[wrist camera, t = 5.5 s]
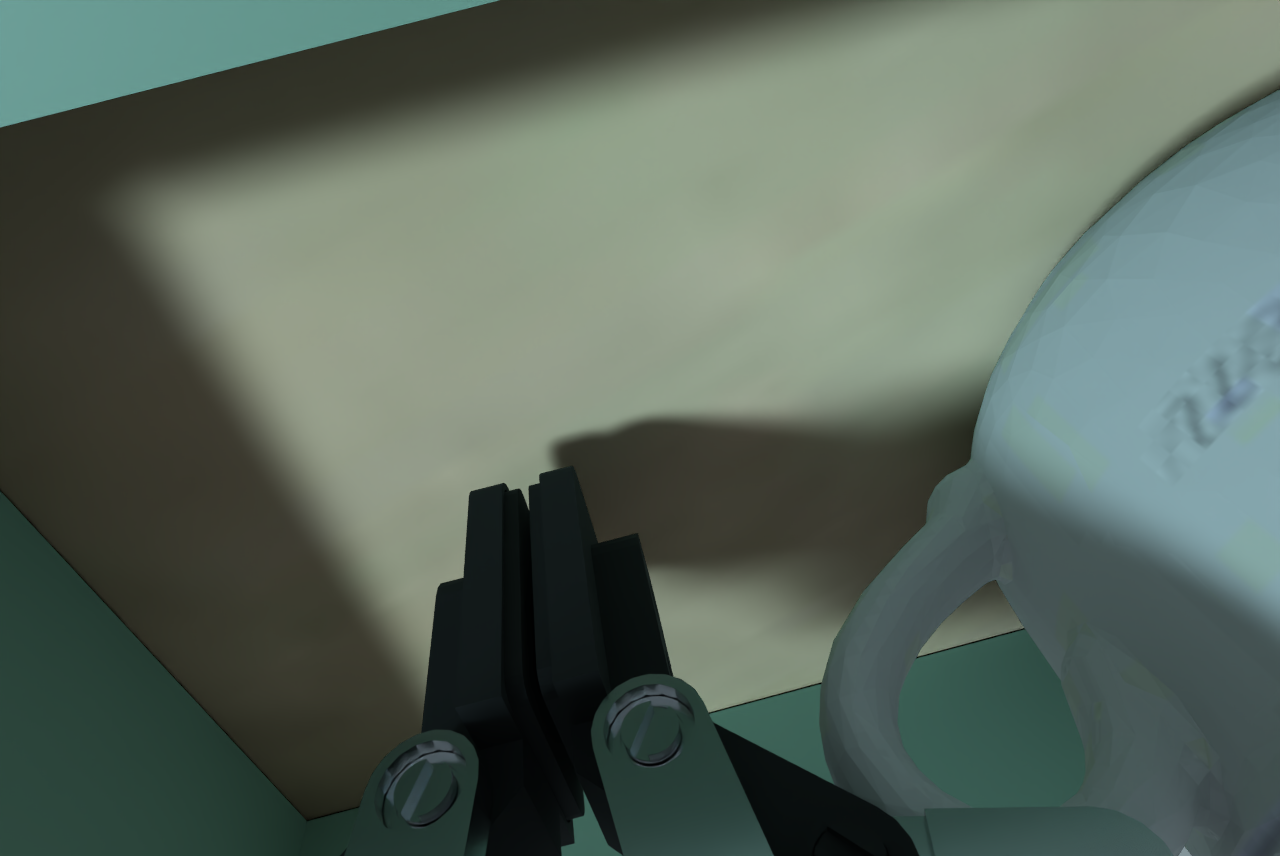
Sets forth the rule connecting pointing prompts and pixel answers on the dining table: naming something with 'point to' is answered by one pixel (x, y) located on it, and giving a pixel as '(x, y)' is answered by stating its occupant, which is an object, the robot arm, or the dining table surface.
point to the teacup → (1119, 514)
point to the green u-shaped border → (174, 722)
